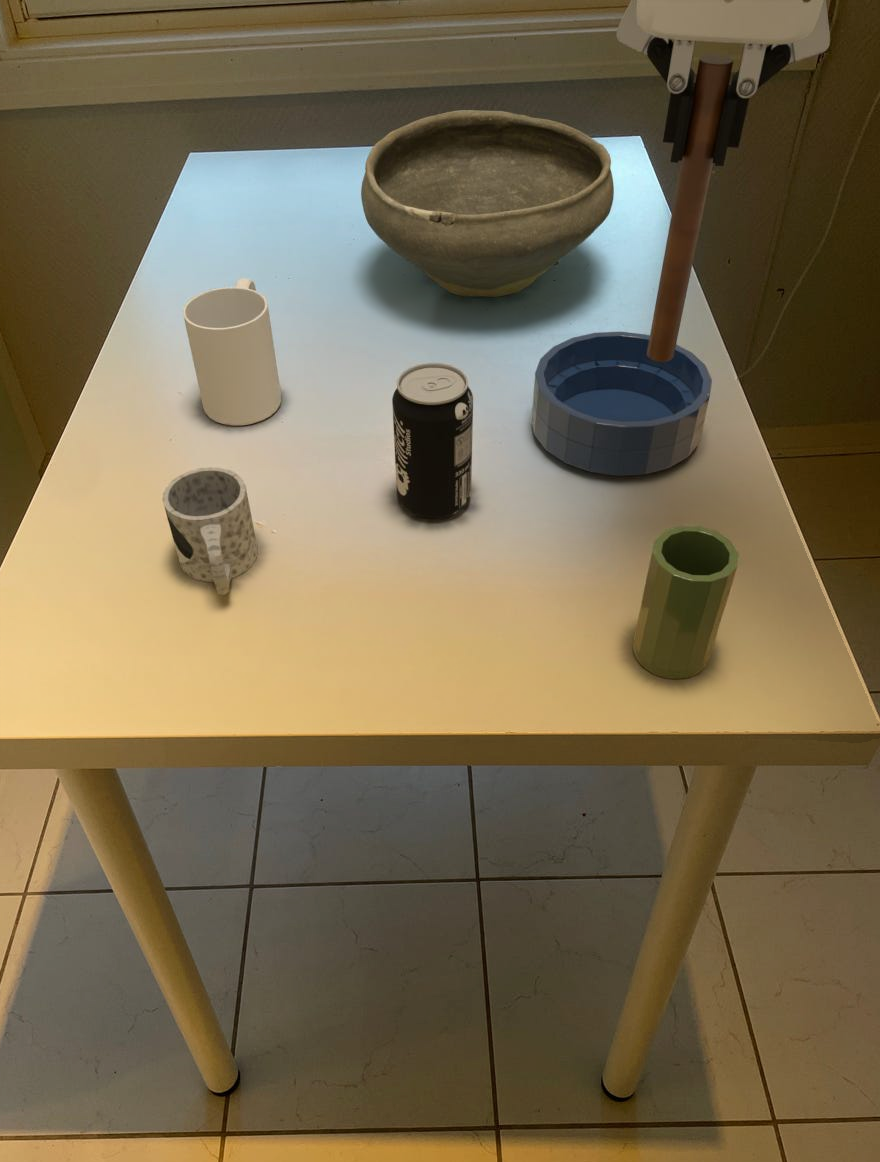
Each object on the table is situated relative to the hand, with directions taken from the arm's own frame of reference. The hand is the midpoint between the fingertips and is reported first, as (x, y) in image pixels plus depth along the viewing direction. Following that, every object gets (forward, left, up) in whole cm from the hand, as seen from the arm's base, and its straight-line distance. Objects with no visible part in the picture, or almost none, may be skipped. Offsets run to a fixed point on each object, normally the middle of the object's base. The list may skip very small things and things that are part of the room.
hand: (698, 153), depth 62 cm
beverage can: (+17, +3, -30) cm, 34 cm away
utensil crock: (-5, +16, -30) cm, 34 cm away
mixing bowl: (+3, -11, -30) cm, 32 cm away
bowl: (+22, -38, -30) cm, 53 cm away
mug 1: (+40, -9, -30) cm, 51 cm away
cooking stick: (0, 0, -15) cm, 15 cm away
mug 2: (+32, +16, -30) cm, 47 cm away
